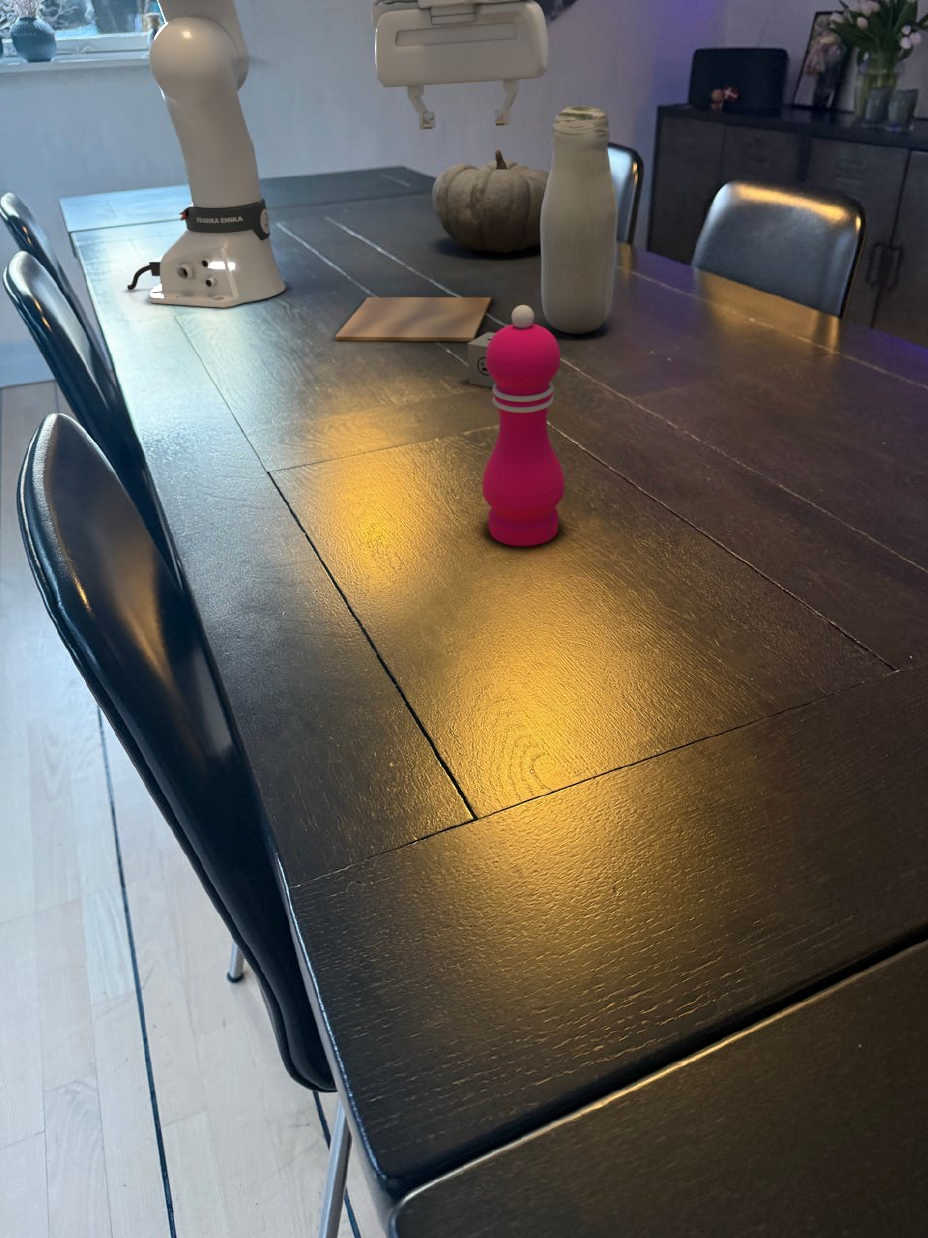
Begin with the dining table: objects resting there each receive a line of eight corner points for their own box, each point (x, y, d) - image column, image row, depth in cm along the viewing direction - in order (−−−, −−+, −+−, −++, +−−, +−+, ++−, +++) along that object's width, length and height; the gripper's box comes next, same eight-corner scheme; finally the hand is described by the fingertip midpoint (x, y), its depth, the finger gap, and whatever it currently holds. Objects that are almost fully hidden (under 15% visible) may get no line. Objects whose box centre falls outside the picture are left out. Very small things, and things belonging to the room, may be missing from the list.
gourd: (405, 243, 165) (414, 138, 157) (457, 238, 186) (467, 144, 177) (532, 266, 158) (549, 157, 150) (571, 258, 179) (587, 161, 170)
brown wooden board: (335, 340, 129) (335, 336, 128) (368, 300, 145) (367, 297, 144) (473, 341, 126) (473, 337, 125) (490, 301, 142) (490, 297, 142)
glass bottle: (616, 322, 130) (629, 101, 114) (602, 344, 122) (613, 110, 106) (550, 318, 133) (554, 101, 117) (532, 339, 125) (533, 110, 109)
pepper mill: (479, 514, 84) (472, 295, 73) (556, 508, 84) (560, 289, 73) (488, 553, 78) (481, 322, 67) (569, 546, 78) (577, 315, 67)
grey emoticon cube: (503, 389, 110) (502, 349, 107) (468, 383, 112) (467, 343, 109) (523, 376, 113) (522, 337, 111) (489, 370, 116) (488, 331, 113)
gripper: (359, -6, 100) (375, 134, 108) (539, -23, 94) (542, 126, 102) (378, -8, 105) (392, 126, 112) (551, -23, 99) (553, 119, 107)
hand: (465, 126), depth 107 cm, fingers open, 8 cm apart
